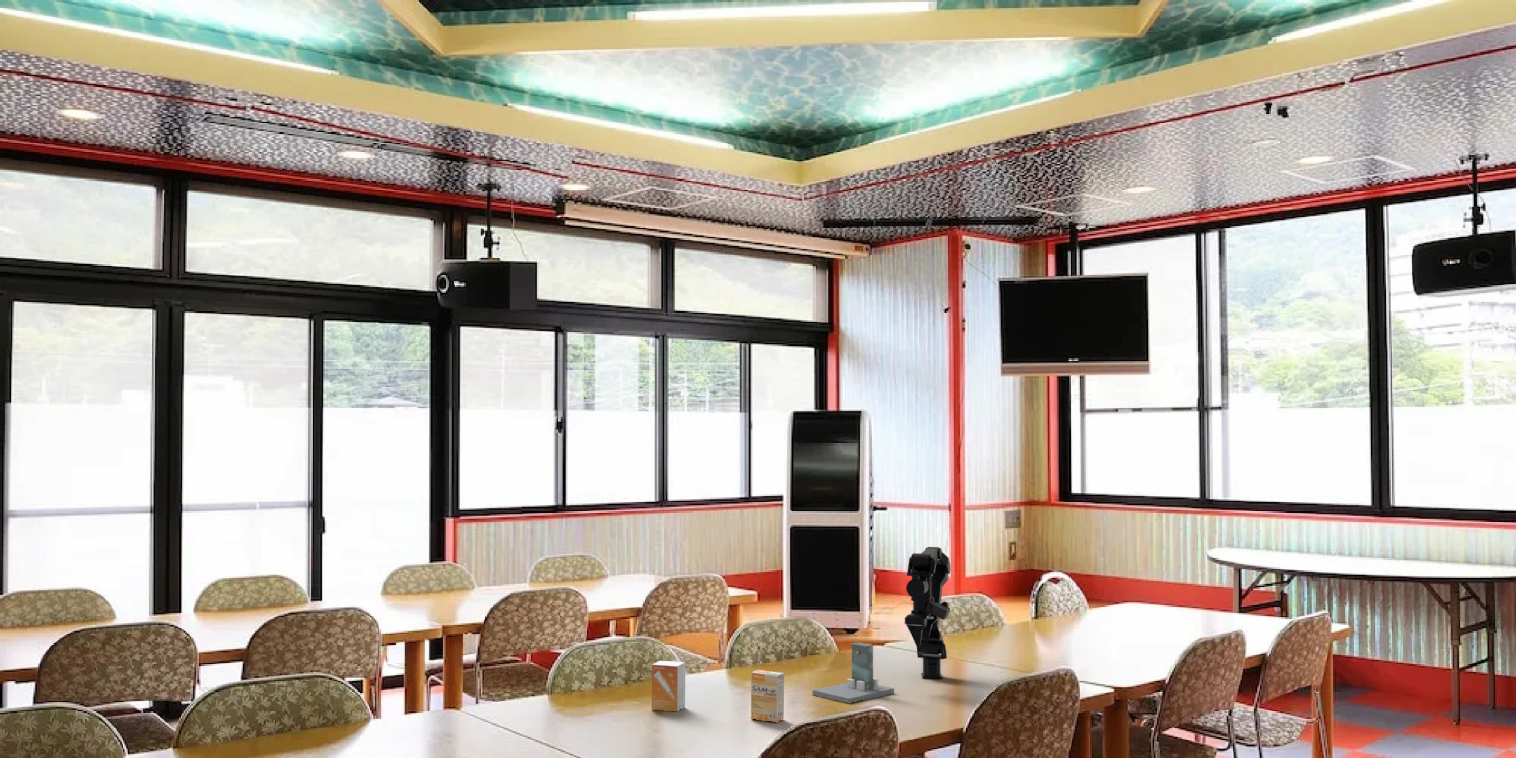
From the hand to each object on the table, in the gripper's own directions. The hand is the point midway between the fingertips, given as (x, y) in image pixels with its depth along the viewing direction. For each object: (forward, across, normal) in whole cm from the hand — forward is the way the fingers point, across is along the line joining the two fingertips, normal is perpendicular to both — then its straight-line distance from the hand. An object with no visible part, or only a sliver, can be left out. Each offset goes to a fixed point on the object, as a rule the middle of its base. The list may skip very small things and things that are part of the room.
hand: (922, 644), depth 364 cm
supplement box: (+13, -59, +27) cm, 66 cm away
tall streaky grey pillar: (+12, -16, +14) cm, 24 cm away
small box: (+13, -59, +58) cm, 84 cm away
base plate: (+13, -20, +16) cm, 28 cm away
